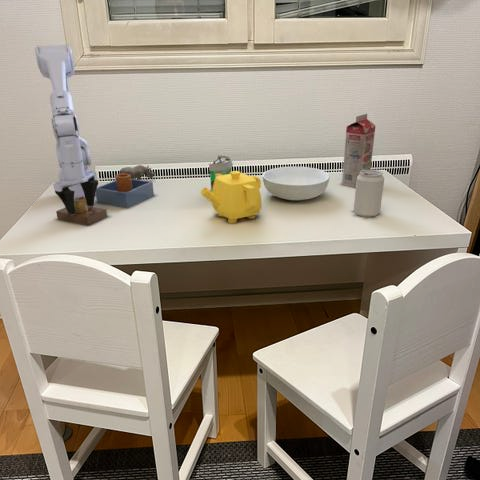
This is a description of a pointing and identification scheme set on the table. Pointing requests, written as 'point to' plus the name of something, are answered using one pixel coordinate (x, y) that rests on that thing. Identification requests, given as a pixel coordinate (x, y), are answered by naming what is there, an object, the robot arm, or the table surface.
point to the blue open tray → (124, 193)
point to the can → (368, 193)
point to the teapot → (235, 195)
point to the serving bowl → (295, 182)
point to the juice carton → (357, 149)
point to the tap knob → (80, 205)
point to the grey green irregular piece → (220, 168)
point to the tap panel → (83, 215)
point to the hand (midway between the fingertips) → (81, 209)
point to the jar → (123, 182)
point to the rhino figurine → (138, 172)
